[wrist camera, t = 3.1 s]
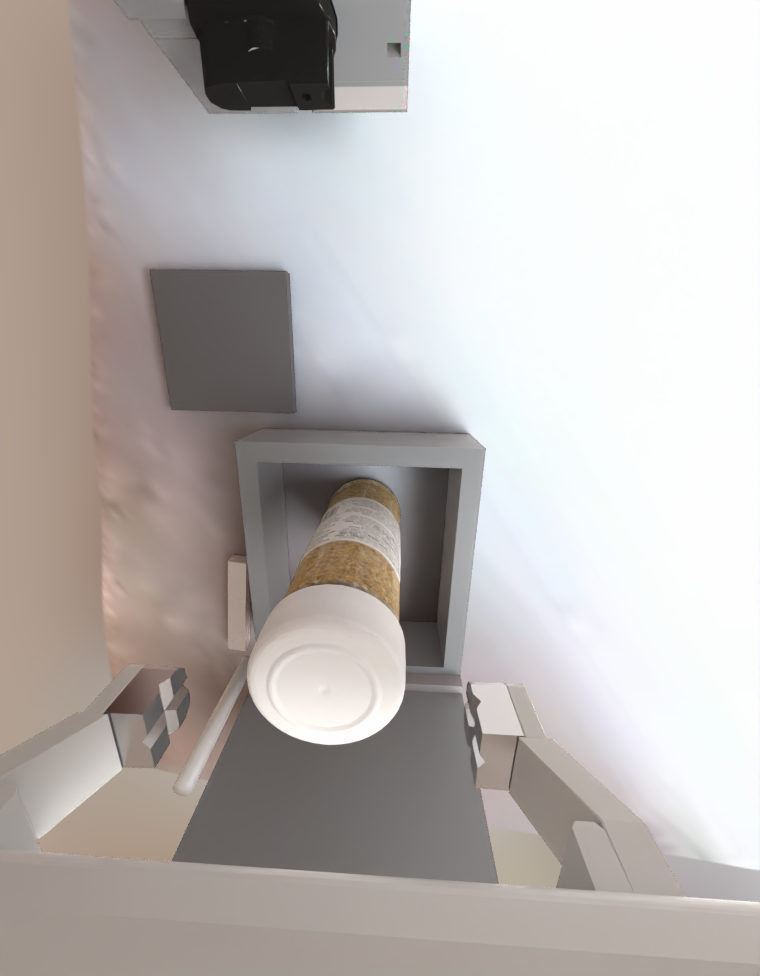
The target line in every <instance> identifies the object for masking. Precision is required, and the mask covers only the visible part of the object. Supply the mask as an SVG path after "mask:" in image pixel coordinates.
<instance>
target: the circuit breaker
mask: <svg viewBox="0 0 760 976" xmlns="http://www.w3.org/2000/svg"><path fill="white" fill-rule="evenodd" d="M114 1H115V3H116V4H117V5H118V6H119V8H120V9H121V10H122V11H123V13H124V14H125V15H126V17H127V18H128V19H129V20H134V19H139V20H140V22H141V23H142V24H143V26H144V27H145V28H146V30H147V31H148V32H149V34H150V35H151V36H152V38H154V40H155V42H156V43H157V44H158V46H159V47H160V48H161V50H162V51H163V53H164V54H165V55H166V57H167V58H168V59H169V61H170V62H171V63H172V65H173V66H174V67H175V69H176V70H177V71H178V73H179V74H180V75H181V77H182V78H183V79H184V81H185V82H186V83H187V85H188V86H189V87H190V89H191V90H192V91H193V93H194V94H195V95H196V97H197V98H198V99H199V101H200V102H201V103H202V105H203V106H204V107H205V109H206V110H207V111H208V113H209V114H234V113H298V108H299V110H313V113H349V112H407V99H408V69H409V40H410V11H411V0H114Z"/></svg>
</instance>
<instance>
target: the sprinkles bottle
mask: <svg viewBox="0 0 760 976" xmlns="http://www.w3.org/2000/svg"><path fill="white" fill-rule="evenodd" d="M400 516H401V514H400V507H399V504H398V501H397V499H396V496H395V495H394V494H393V493H392V492H391V491H390V490H389V489H388V488H387V487H386V486H384V485H383V484H381V483H379V482H376V481H374V480H368V479H360V480H354V481H351V482H348V483H346V484H344V485H343V486H342V487H340V488H339V489H338V490H337V491H336V493H334V495H333V496H332V498H331V500H330V503H329V506H328V510H327V511H326V513H325V514H324V516H323V517H322V519H321V521H320V523H319V525H318V527H317V529H316V531H315V533H314V535H313V537H312V539H311V541H310V543H309V545H308V547H307V549H306V551H305V553H304V555H303V557H302V559H301V561H300V563H299V565H298V567H297V570H296V573H295V576H294V578H293V580H292V582H291V584H290V587H289V589H288V591H287V593H286V595H285V596H284V598H283V600H282V601H280V602H279V603H278V604H277V605H276V607H275V608H274V609H273V610H272V612H271V613H270V615H269V617H268V618H267V620H266V622H265V624H264V626H263V628H262V630H261V632H260V634H259V636H258V639H257V641H256V643H255V645H254V648H253V650H252V652H251V655H250V658H249V661H248V666H247V683H248V688H249V692H250V695H251V697H252V700H253V702H254V703H255V705H256V707H257V708H258V710H259V711H260V713H261V714H262V715H263V716H264V717H265V718H266V719H267V720H268V721H269V722H270V723H271V724H272V725H274V726H275V727H276V728H278V729H279V730H281V731H282V732H284V733H286V734H288V735H290V736H292V737H295V738H298V739H300V740H304V741H308V742H311V743H317V744H326V745H336V744H346V743H351V742H355V741H359V740H362V739H365V738H367V737H369V736H371V735H373V734H375V733H376V732H378V731H379V730H381V729H382V728H383V727H385V726H386V725H387V724H388V723H389V722H390V721H391V720H392V718H393V717H394V716H395V714H396V713H397V711H398V710H399V707H400V705H401V703H402V700H403V696H404V691H405V680H406V661H405V639H404V635H403V631H402V629H401V626H400V624H399V593H400V589H399V585H400V567H401V551H400V530H399V524H400Z"/></svg>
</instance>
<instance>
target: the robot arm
mask: <svg viewBox="0 0 760 976" xmlns="http://www.w3.org/2000/svg"><path fill="white" fill-rule="evenodd" d="M186 678H187V677H186V673H185V669H183V668H180V667H168V666H155V665H138V664H130V665H128V666H126V667H125V668H124V669H123V670H122V671H121V672H120V673H119V674H118V675H117V676H116V677H115V678H114V679H113V681H112V682H111V683H110V684H109V685H108V686H107V687H106V688H105V689H104V690H103V691H102V692H101V693H100V694H99V696H98V697H97V698H96V699H95V700H94V701H93V702H92V703H91V704H90V705H89V706H88V707H87V709H86V710H85V711H84V712H80V713H79V712H77V713H75V714H73V715H71V716H70V717H68V718H66V719H64V720H62V721H61V722H59V723H57V724H55V725H53V726H52V727H50V728H48V729H46V730H45V731H43V732H41V733H39V734H37V735H35V736H34V737H32V738H30V739H28V740H26V741H25V742H23V743H21V744H19V745H17V746H16V747H14V748H12V749H10V750H8V751H7V752H5V753H3V754H1V755H0V976H760V902H750V901H736V900H721V899H707V898H693V897H686V896H685V894H684V893H683V891H682V889H681V887H680V885H679V884H678V882H677V880H676V878H675V876H674V875H673V873H672V871H671V869H670V867H669V865H668V864H667V862H666V860H665V858H664V856H663V854H662V853H661V851H660V849H659V847H658V845H657V844H656V842H655V840H654V838H653V836H652V835H651V833H650V831H649V829H648V827H647V825H646V824H645V823H644V822H643V821H642V820H641V819H640V818H639V817H638V816H637V815H635V814H634V813H633V812H632V811H631V810H630V809H629V808H628V807H627V806H626V805H624V804H623V803H622V802H621V801H620V800H619V799H618V798H617V797H616V796H615V795H614V794H612V793H611V792H610V791H609V790H608V789H607V788H606V787H605V786H604V785H603V784H602V783H600V782H599V781H598V780H597V779H596V778H595V777H594V776H593V775H592V774H591V773H589V772H588V771H587V770H586V769H585V768H584V767H583V766H582V765H581V764H580V763H579V762H577V761H576V760H575V759H574V758H573V757H572V756H571V755H570V754H569V753H568V752H567V751H565V750H564V749H563V748H562V747H561V746H560V745H559V744H558V743H557V742H556V741H555V740H553V739H550V738H546V735H545V733H544V730H543V728H542V726H541V723H540V721H539V718H538V716H537V714H536V711H535V709H534V706H533V704H532V702H531V699H530V697H529V694H528V692H527V690H526V687H525V686H524V685H523V684H516V683H504V684H503V683H490V682H468V684H467V690H466V694H467V699H468V702H467V703H466V704H465V707H464V729H465V737H466V742H467V745H468V746H469V747H470V748H471V756H470V764H471V769H472V774H473V779H474V784H475V788H484V789H495V790H506V791H509V793H510V795H511V796H512V798H513V799H514V800H515V802H516V803H517V804H518V806H519V807H520V809H521V810H522V811H523V813H524V814H525V815H526V817H527V818H528V820H529V821H530V822H531V824H532V825H533V826H534V828H535V829H536V831H537V832H538V833H539V835H540V836H541V837H542V839H543V840H544V841H545V843H546V844H547V846H548V847H549V848H550V849H551V851H552V852H553V854H554V855H555V857H556V858H557V859H558V861H559V862H560V863H561V865H562V867H561V872H560V875H559V879H558V882H557V886H556V888H548V887H533V886H520V885H506V884H492V883H477V882H463V881H449V880H434V879H420V878H405V877H391V876H376V875H362V874H348V873H333V872H319V871H304V870H290V869H275V868H261V867H246V866H232V865H217V864H203V863H188V862H174V861H160V860H145V859H130V858H117V857H103V856H88V855H73V854H60V853H44V852H42V849H41V847H40V844H39V842H38V839H39V838H41V837H42V836H43V835H44V834H45V833H47V832H48V831H49V830H50V829H51V828H53V826H55V825H56V824H57V823H59V822H60V821H61V820H62V819H63V818H65V817H66V816H67V815H68V814H69V813H70V812H72V811H73V810H74V809H75V808H77V807H78V806H79V805H80V804H81V803H82V802H84V801H85V800H86V799H87V798H89V796H91V795H92V794H93V793H95V792H96V791H97V790H98V789H99V788H101V787H102V786H103V785H104V784H105V783H107V782H108V781H109V780H110V779H111V778H113V777H114V776H115V775H116V774H117V773H118V772H120V771H121V770H122V767H128V768H129V767H130V768H155V767H156V765H157V764H158V762H159V760H160V759H161V757H162V755H163V754H164V752H165V751H166V749H167V747H168V746H169V744H170V739H169V735H170V734H172V733H173V732H174V731H176V730H177V729H179V728H180V726H181V724H182V723H183V721H184V719H185V717H186V714H187V711H188V708H189V703H190V695H189V690H188V689H187V688H186V687H185V686H184V685H183V683H184V681H185V680H186Z"/></svg>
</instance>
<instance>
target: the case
mask: <svg viewBox="0 0 760 976" xmlns="http://www.w3.org/2000/svg"><path fill="white" fill-rule="evenodd" d="M235 450H236V459H237V469H238V478H239V488H240V497H241V507H242V516H243V526H244V535H245V545H246V554H247V564H248V574H249V583H250V593H251V602H252V612H253V621H254V631H255V640H256V641H257V639H258V636H259V634H260V632H261V630H262V628H263V626H264V624H265V622H266V620H267V618H268V617H269V615H270V613H271V612H272V610H273V609H274V608H275V607H276V605H277V604H278V603H279V602H280V601H282V600H283V598H284V596H285V595H286V593H287V591H288V589H289V587H290V570H289V554H288V539H287V523H286V508H285V492H284V477H283V463H303V464H335V465H366V466H397V467H429V468H450V469H449V481H448V493H447V505H446V517H445V529H444V541H443V553H442V565H441V578H440V590H439V602H438V614H437V622H418V621H399V624H400V626H401V629H402V631H403V635H404V639H405V661H406V680H405V691H404V696H403V700H402V703H401V705H400V707H399V710H398V711H397V713H396V714H395V716H394V717H393V718H392V720H391V721H390V722H389V723H388V724H387V725H386V726H385V727H383V728H382V729H381V730H379V731H378V732H376V733H375V734H373V735H371V736H369V737H367V738H365V739H362V740H359V741H355V742H351V743H346V744H336V745H326V744H317V743H311V742H308V741H304V740H300V739H298V738H295V737H292V736H290V735H288V734H286V733H284V732H282V731H281V730H279V729H278V728H276V727H275V726H274V725H272V724H271V723H270V722H269V721H268V720H267V719H266V718H265V717H264V716H263V715H262V714H261V713H260V711H259V710H258V708H257V707H256V705H255V703H254V702H253V700H252V697H251V695H250V692H249V694H248V696H247V698H246V700H245V702H244V705H243V707H242V709H241V711H240V713H239V715H238V718H237V720H236V722H235V724H234V726H233V729H232V731H231V733H230V735H229V737H228V739H227V742H226V744H225V746H224V748H223V750H222V752H221V755H220V757H219V759H218V761H217V763H216V766H215V768H214V770H213V772H212V774H211V776H210V779H209V781H208V783H207V785H206V787H205V790H204V792H203V794H202V796H201V798H200V800H199V803H198V805H197V807H196V809H195V812H194V814H193V816H192V818H191V820H190V822H189V824H188V827H187V829H186V831H185V833H184V835H183V838H182V840H181V842H180V844H179V846H178V848H177V851H176V853H175V855H174V857H173V859H172V861H174V862H188V863H203V864H217V865H232V866H246V867H261V868H275V869H290V870H304V871H319V872H333V873H348V874H362V875H376V876H391V877H405V878H420V879H434V880H449V881H463V882H477V883H492V884H499V883H498V878H497V873H496V868H495V862H494V858H493V852H492V847H491V842H490V836H489V832H488V826H487V821H486V816H485V811H484V806H483V800H482V795H481V790H480V788H475V784H474V779H473V774H472V769H471V764H470V756H471V748H470V747H469V746H468V745H467V742H466V737H465V729H464V703H463V698H462V682H461V677H460V673H461V664H462V655H463V646H464V637H465V628H466V620H467V611H468V602H469V593H470V584H471V575H472V566H473V557H474V549H475V540H476V531H477V522H478V513H479V504H480V495H481V486H482V478H483V469H484V460H485V451H486V448H484V447H483V446H482V445H481V444H480V443H479V442H478V441H477V440H476V439H475V438H474V437H473V436H472V435H470V434H451V433H415V432H380V431H344V430H309V429H274V428H263V429H261V430H258V431H256V432H254V433H252V434H250V435H247V436H245V437H243V438H241V439H238V440H236V441H235ZM249 658H250V657H249V656H244V657H243V658H242V659H241V661H240V663H239V665H238V667H237V668H236V670H235V672H234V674H233V676H232V678H231V680H230V681H229V683H228V685H227V687H226V689H225V691H224V693H223V694H222V696H221V698H220V700H219V702H218V704H217V706H216V707H215V709H214V711H213V713H212V715H211V717H210V719H209V720H208V722H207V724H206V726H205V728H204V730H203V732H202V734H201V735H200V737H199V739H198V741H197V743H196V745H195V747H194V748H193V750H192V752H191V754H190V756H189V758H188V760H187V761H186V763H185V765H184V767H183V769H182V771H181V773H180V774H179V776H178V778H177V780H176V782H175V784H174V786H173V790H174V792H175V793H176V794H178V795H180V796H189V795H190V794H191V793H192V791H193V789H194V787H195V785H196V783H197V781H198V778H199V776H200V774H201V772H202V770H203V768H204V766H205V764H206V762H207V760H208V758H209V756H210V754H211V752H212V750H213V748H214V746H215V743H216V741H217V739H218V737H219V735H220V733H221V731H222V729H223V727H224V725H225V723H226V721H227V719H228V717H229V715H230V713H231V711H232V708H233V706H234V704H235V702H236V700H237V698H238V696H239V694H240V692H241V690H242V688H243V686H244V684H245V682H246V680H247V666H248V661H249Z"/></svg>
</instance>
